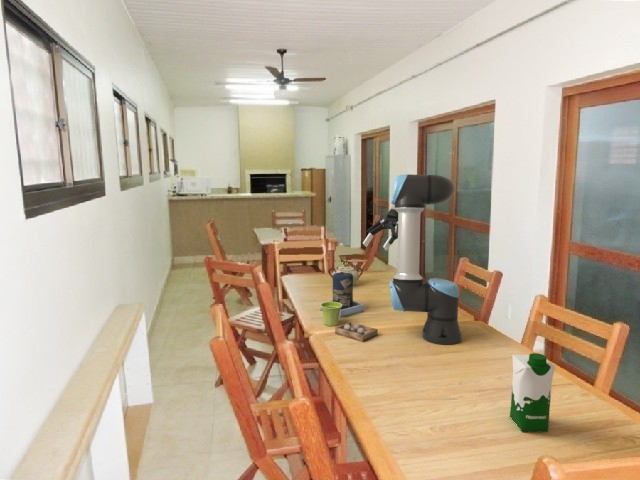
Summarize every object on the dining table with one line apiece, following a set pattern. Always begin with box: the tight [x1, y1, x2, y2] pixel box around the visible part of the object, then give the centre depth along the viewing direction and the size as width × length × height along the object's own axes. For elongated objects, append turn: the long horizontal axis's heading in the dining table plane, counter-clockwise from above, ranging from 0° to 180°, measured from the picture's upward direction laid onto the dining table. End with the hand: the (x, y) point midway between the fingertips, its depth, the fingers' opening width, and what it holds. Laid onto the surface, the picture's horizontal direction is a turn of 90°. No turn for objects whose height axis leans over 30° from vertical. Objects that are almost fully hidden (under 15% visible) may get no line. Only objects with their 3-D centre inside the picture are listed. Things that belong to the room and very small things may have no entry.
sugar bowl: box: [328, 259, 363, 286], centre depth 261 cm, size 20×15×15 cm
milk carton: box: [509, 352, 556, 432], centre depth 120 cm, size 9×9×20 cm
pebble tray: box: [334, 321, 379, 343], centre depth 187 cm, size 14×10×4 cm
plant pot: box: [321, 301, 342, 327], centre depth 199 cm, size 9×9×9 cm
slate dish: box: [320, 299, 365, 319], centre depth 217 cm, size 15×15×4 cm
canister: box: [332, 272, 354, 310], centre depth 216 cm, size 10×10×18 cm
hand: (374, 246), depth 219 cm, fingers open, 13 cm apart
